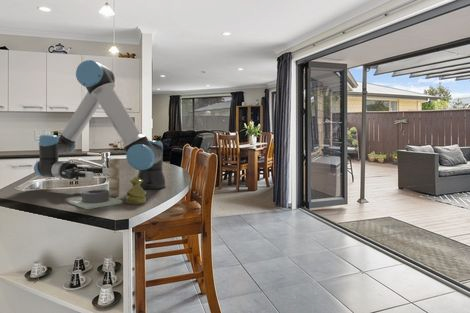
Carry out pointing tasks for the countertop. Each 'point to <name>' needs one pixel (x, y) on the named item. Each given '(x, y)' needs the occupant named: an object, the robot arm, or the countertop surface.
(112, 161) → the peg
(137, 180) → the olive twisted vase
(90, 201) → the socket
